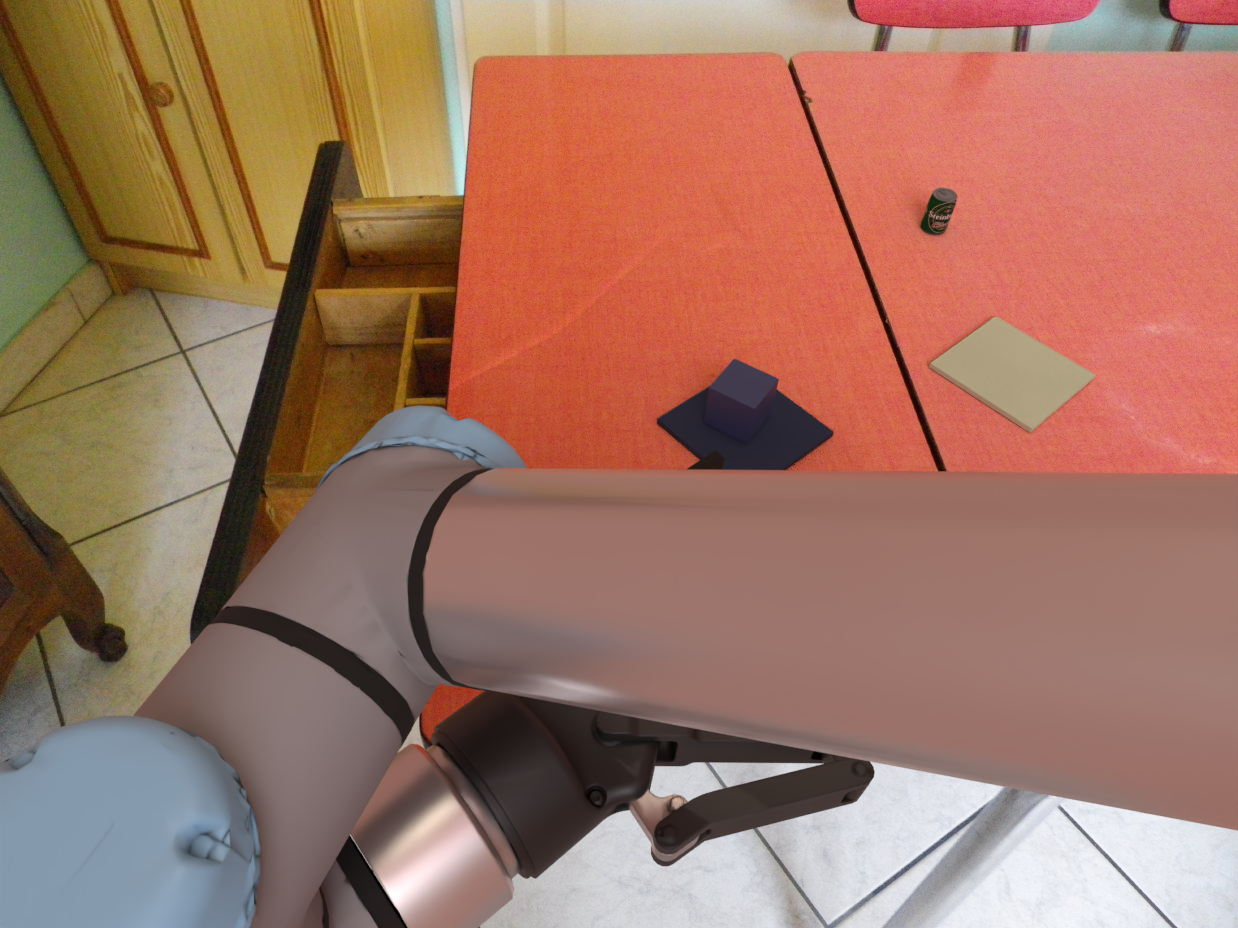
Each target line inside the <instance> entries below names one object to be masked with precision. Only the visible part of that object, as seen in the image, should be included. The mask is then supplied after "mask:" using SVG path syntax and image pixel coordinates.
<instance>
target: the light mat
mask: <svg viewBox="0 0 1238 928" xmlns="http://www.w3.org/2000/svg"><path fill="white" fill-rule="evenodd" d="M928 369H930V370H932V371H933V372H935V373H937V374H938V375H939V376H941V377H943V378H944V379H946V380H948V381H949V382H951V383H952V384H953V385H955V386H957V387H958V388H960V389H961V390H963V391H964V392H965V393H967V394H969V395H971V396H972V397H974V398H975V399H977V400H978V401H979V402H981V403H983V404H984V405H986V406H987V407H989V408H990V409H992V410H993V411H995V412H997V413H998V414H1000V415H1001V416H1003V417H1004V418H1006V419H1008V420H1009V421H1011V422H1012V423H1014V424H1015V425H1017V426H1019V428H1021V429H1022V430H1024V431H1026V432H1027V433H1029V434H1032V433H1033V432H1034V431H1035V430H1036V429H1037V428H1038V427H1039V426H1041V425H1042V424H1043V423H1044V422H1045V421H1046V420H1048V419H1049V418H1050V417H1051V416H1053V414H1055V413H1056V412H1057V411H1058V410H1059V409H1060V408H1061V407H1063V406H1064V405H1065V404H1066V403H1068V402H1069V401H1070V400H1071V399H1072V398H1073V397H1074V396H1075V395H1077V394H1078V393H1079V392H1081V391H1082V389H1084V388H1085V387H1086V386H1087V385H1088V384H1090V383H1091V382H1093V380H1094V379H1095V377H1096V373H1094V372H1092V371H1090V370H1089V369H1087V368H1085V367H1083V366H1082V365H1080V364H1078V363H1077V362H1075V361H1073V360H1071V359H1070V358H1069V357H1067V356H1064V355H1063V354H1061V353H1060V352H1058V351H1056V350H1055V349H1053V348H1051V347H1049V346H1047V345H1046V344H1044V343H1042V342H1041V341H1039V340H1038V339H1036V338H1034V337H1033V336H1031V335H1029V334H1028V333H1025V332H1024V331H1022V330H1021V329H1019V328H1017V327H1015V326H1014V325H1012V324H1010V323H1009V322H1007V321H1005V320H1003V319H1002V318H1000V317H998V316H996V315H995V316H994V317H992V318H990V319H989V320H987V321H986V322H985V323H984V324H982V325H980V327H978V328H976V330H974V331H972V332H971V333H969V335H967V336H966V337H964V338H963V339H962V340H959V342H957V343H956V344H955V345H953V346H951V348H949V349H948V350H946V351H945V352H944V353H942V354H941V355H939V356H938V357H936V358H935V359H933V361H931V362H930V363H929V365H928Z"/></svg>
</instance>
